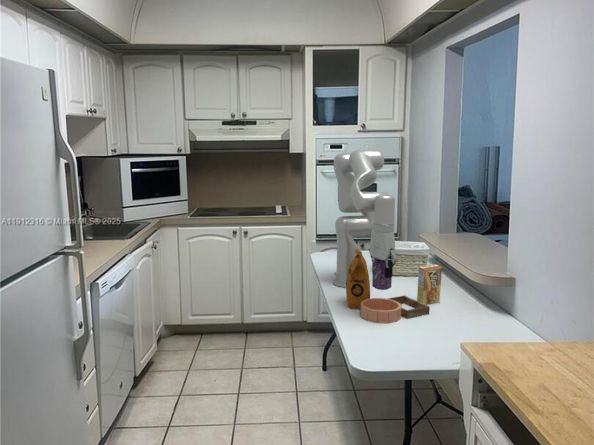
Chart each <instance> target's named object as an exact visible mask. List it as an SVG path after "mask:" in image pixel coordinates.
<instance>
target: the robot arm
mask: <svg viewBox="0 0 594 445" xmlns="http://www.w3.org/2000/svg"><path fill="white" fill-rule="evenodd" d="M384 165H385V157H384V154H383V153H382V152H381V151H380V150H379V149H357V150H354V151H352V152H342V153H338V154H337V155H335V157H334V159H333V170H334V175H335V178H336V181H337V202H338V206H337V207H338V210H339V211H340V212H341V213H344V214H345V213H346V214H348V213H349V214H350V213H351V214H353V213H355V214H357V213H361V215H344V216H343V215H342V216H340V217H337V219H336V220H335V222H334V223H335V224H334V226H335V227H334V228H335V235H336V271H335V272H334V273H333V275H334V276H335V278H334V279H333V280H332V284H333V285H334V286H337V287H341V288H346V280H347V274H348V269H349V265H350V264H351V262H352V261H353V259H354V258H355V256H356V255H357V254H356V253H355V250H356V249H359V247H358V244H357V242H356V241H355V240H354V238H357V237H358V238H359V237H369V236H370V243H369V249H368V252H369V255H370V259H371V263H372V265H371V266H372V268H371V272H372V274H373V260H374V259H375V258H374V257H376V258H379V259H380V260H384V261H385V265H386V267H385V274H384V277H385V278H389V277H392V278H393V275H392V270H393V267H394V264H395V263H396V261H397V260H398V259H397V257H396V255H395V241H396V240H395V239H396V238H395V217H396V216H395V212H396V197H395V196H394V195H392V194H389V193H388V192H386V191H362V190H363V189H366V188H368V187H369V186H371V185H372V184H374V183H375V182H376V181H377V178H378V174H377V171H380V170H382V169H383V168H384ZM352 173H353V174H352ZM388 258H389V259H388ZM388 261H390V262H389V263H388Z"/></svg>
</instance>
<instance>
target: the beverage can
mask: <svg viewBox="0 0 594 445" xmlns="http://www.w3.org/2000/svg"><path fill="white" fill-rule="evenodd" d="M374 258H375V259H374V260H373V262H372V263H373V273H372V280H371V281H372V283H371V284H372V285H371V286H372V287H373V288H374V289H376V290H378V291H386V290H388V289H391V288H392V282H393V281H392V278H393V276H392V277H389V278H385V277H384V274H385V267H386V265H385V261H384V260H380V259H379V258H376V257H374ZM388 259H389V258H388ZM389 262H390V261H388V263H389Z"/></svg>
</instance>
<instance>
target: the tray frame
mask: <svg viewBox="0 0 594 445" xmlns="http://www.w3.org/2000/svg"><path fill="white" fill-rule="evenodd" d="M387 299H391V300H394V301H396V302H399V303H400V304H404V305H407V306H409V307H411V308H412V309H406V308H404V307H402V308H401V318H405V319H406V320H408V319H413V318H417V316H418V317H421V316H422V315H423V316H426V315H430V309H431V308H430V307H431V306H429V305H428V304H426V305H425V304H423V303H420V302H418V301H417V299H414V298H411V297H410V296H406V295H405V294H404V295H399V296H394V297H389V298H387Z"/></svg>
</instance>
